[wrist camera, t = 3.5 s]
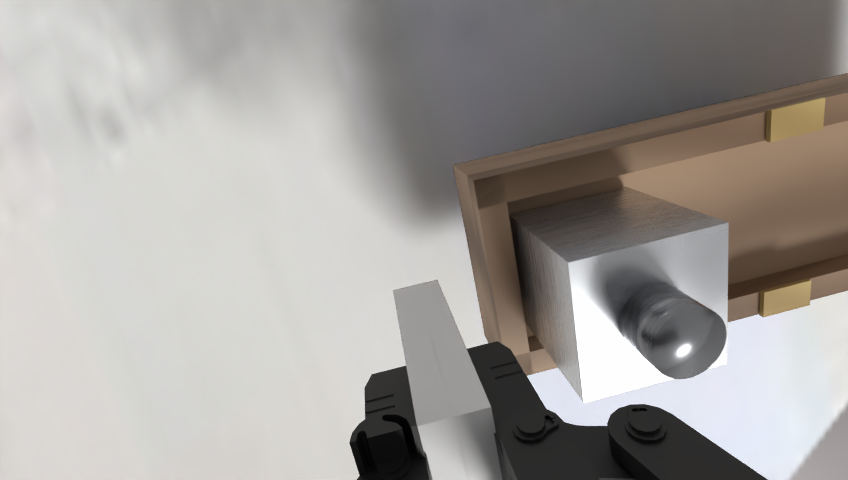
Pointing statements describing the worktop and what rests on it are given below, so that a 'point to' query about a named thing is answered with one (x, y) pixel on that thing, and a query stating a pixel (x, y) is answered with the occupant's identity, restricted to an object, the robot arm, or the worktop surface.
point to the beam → (685, 198)
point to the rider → (624, 289)
